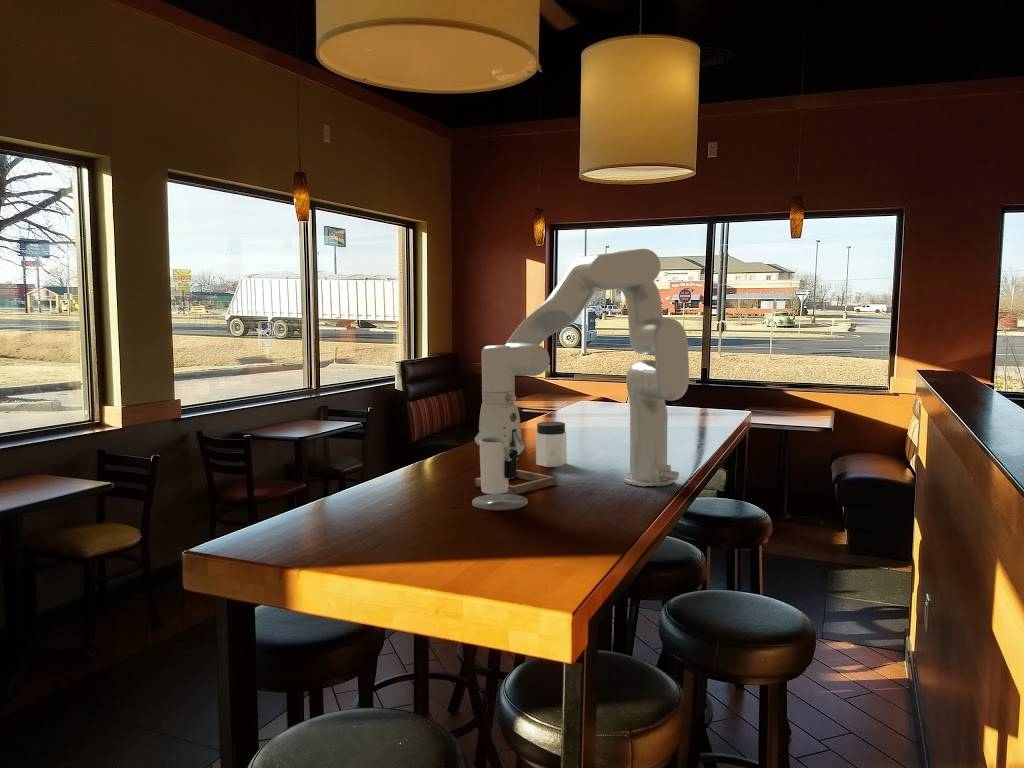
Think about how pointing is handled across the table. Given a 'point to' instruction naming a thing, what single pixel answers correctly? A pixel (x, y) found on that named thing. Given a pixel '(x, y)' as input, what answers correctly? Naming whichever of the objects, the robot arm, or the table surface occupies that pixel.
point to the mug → (493, 468)
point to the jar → (551, 444)
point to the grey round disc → (499, 502)
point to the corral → (536, 483)
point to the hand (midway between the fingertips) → (499, 474)
